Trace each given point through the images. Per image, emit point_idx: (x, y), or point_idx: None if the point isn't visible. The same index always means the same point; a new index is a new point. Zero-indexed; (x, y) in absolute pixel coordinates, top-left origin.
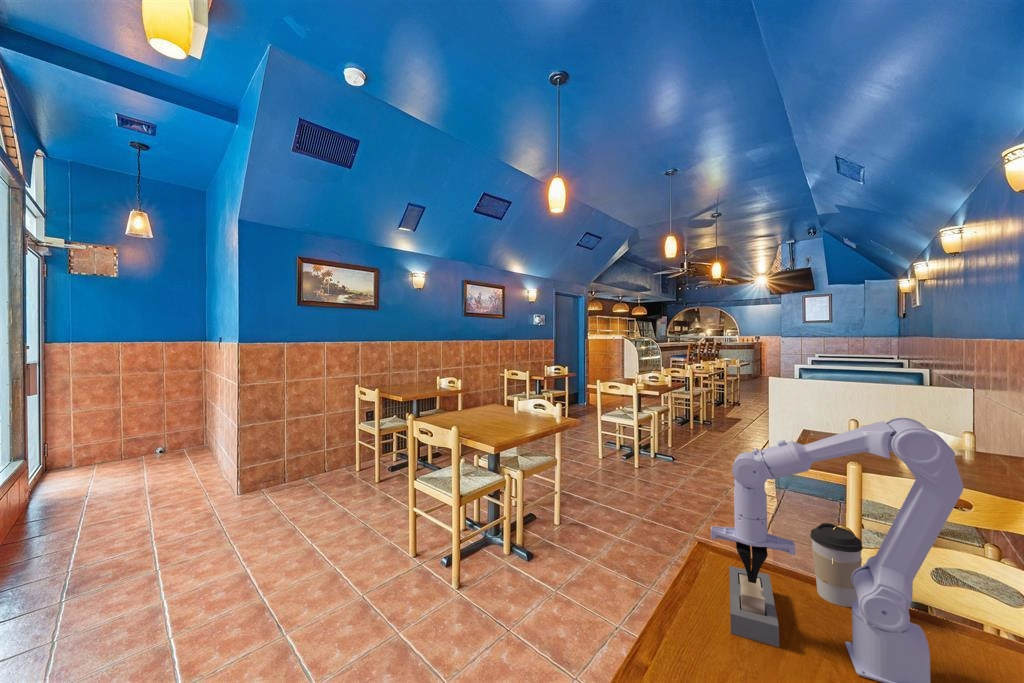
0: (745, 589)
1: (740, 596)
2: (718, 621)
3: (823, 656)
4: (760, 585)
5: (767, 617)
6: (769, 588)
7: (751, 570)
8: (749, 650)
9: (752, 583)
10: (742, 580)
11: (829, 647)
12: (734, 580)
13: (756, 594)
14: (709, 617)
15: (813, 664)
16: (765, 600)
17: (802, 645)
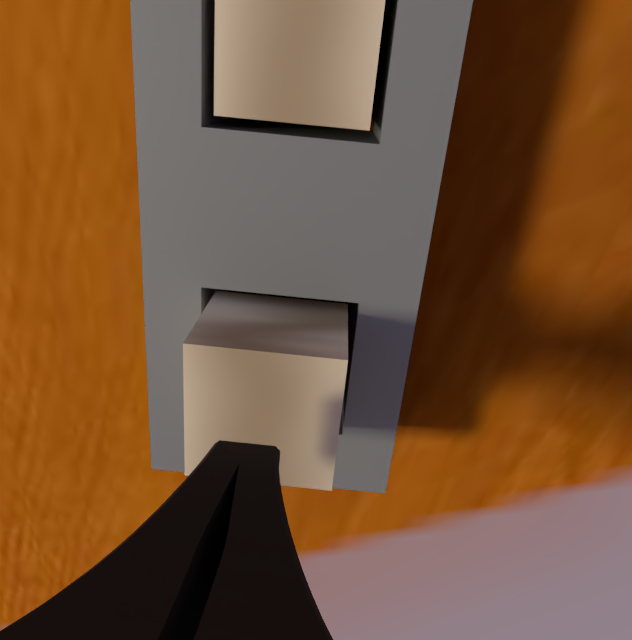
0: (215, 416)
1: (210, 285)
2: (127, 340)
3: (554, 417)
4: (373, 77)
5: (342, 445)
6: (436, 104)
7: (237, 474)
8: None
9: (313, 66)
10: (236, 49)
11: (614, 354)
12: (171, 81)
13: (285, 454)
14: (83, 325)
15: (489, 471)
16: (367, 282)
17: (488, 379)
